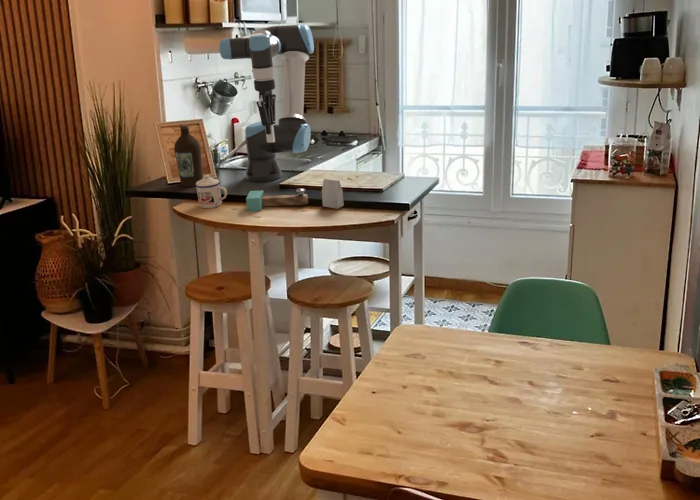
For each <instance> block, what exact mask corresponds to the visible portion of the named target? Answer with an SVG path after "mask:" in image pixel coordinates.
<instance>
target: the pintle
mask: <svg viewBox="0 0 700 500" xmlns="http://www.w3.org/2000/svg"><path fill="white" fill-rule="evenodd" d="M295 192H296V193H297V194H298V195H299V196H302V195H304V194H305V192H306V189H305V188H302V187H301V188H296V190H295Z"/></svg>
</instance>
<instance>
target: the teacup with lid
mask: <svg viewBox="0 0 700 500" xmlns="http://www.w3.org/2000/svg"><path fill="white" fill-rule="evenodd" d="M220 183H221V182H220V181H219V179H217V178H213V177H211V176H210V174H206V175H203V179H201V180H200V181H198V182H196V186H195V187H196V194H197V200H198V207H200V208H203V209H214V208H217V207H220V206H222V203H223V200H224V199H226V198H227V195H228V191H227V188H225V187H223V186H221V185H220ZM221 190H223V192H224V195H223V197H222V193H221Z"/></svg>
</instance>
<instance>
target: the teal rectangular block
mask: <svg viewBox="0 0 700 500" xmlns="http://www.w3.org/2000/svg"><path fill="white" fill-rule="evenodd" d="M262 196H264V190H263V189H262V190H250V191H249V192H248V194H247V196H246V198H245V201H246V210H247V213H249V212H262V210H263V207H264V206H262Z"/></svg>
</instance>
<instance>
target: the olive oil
mask: <svg viewBox="0 0 700 500" xmlns="http://www.w3.org/2000/svg"><path fill="white" fill-rule="evenodd" d="M179 126H180V135H179V137H178V139H176V141H175V143H174V147H173V149H174V155H175V161H176V164H177V169H178V175H179V179H180V185H181V186H182V187H184V188H185V187H186V188H191V187H196V182H198V181H200V180H201V179H203V178H204V174H203V173H204V172H203V161H202V151H201V150H202V149H201V145H200V143H199V141H198V139H197V138H196V137H194V136H193V135H191V133H190V129H189V124H187V123H184V124H181V125H179Z"/></svg>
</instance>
